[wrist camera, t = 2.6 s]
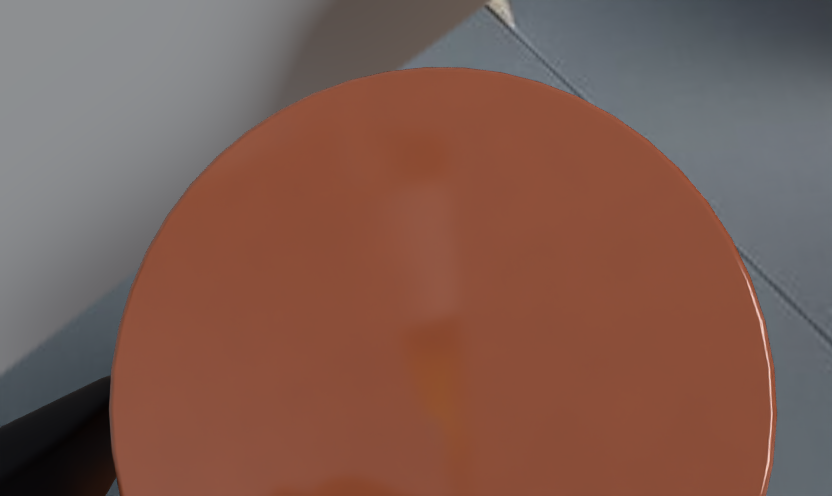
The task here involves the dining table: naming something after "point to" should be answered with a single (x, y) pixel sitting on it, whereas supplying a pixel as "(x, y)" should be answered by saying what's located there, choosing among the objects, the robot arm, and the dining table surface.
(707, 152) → the dining table surface
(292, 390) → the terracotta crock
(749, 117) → the dining table surface
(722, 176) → the dining table surface
